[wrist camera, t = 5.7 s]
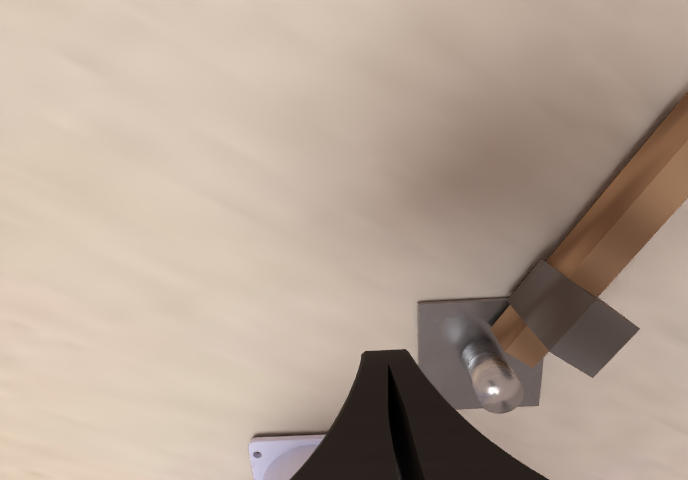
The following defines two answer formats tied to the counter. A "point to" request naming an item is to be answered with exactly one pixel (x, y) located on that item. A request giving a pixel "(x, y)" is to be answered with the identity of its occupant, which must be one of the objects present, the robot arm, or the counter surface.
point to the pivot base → (456, 334)
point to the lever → (598, 259)
